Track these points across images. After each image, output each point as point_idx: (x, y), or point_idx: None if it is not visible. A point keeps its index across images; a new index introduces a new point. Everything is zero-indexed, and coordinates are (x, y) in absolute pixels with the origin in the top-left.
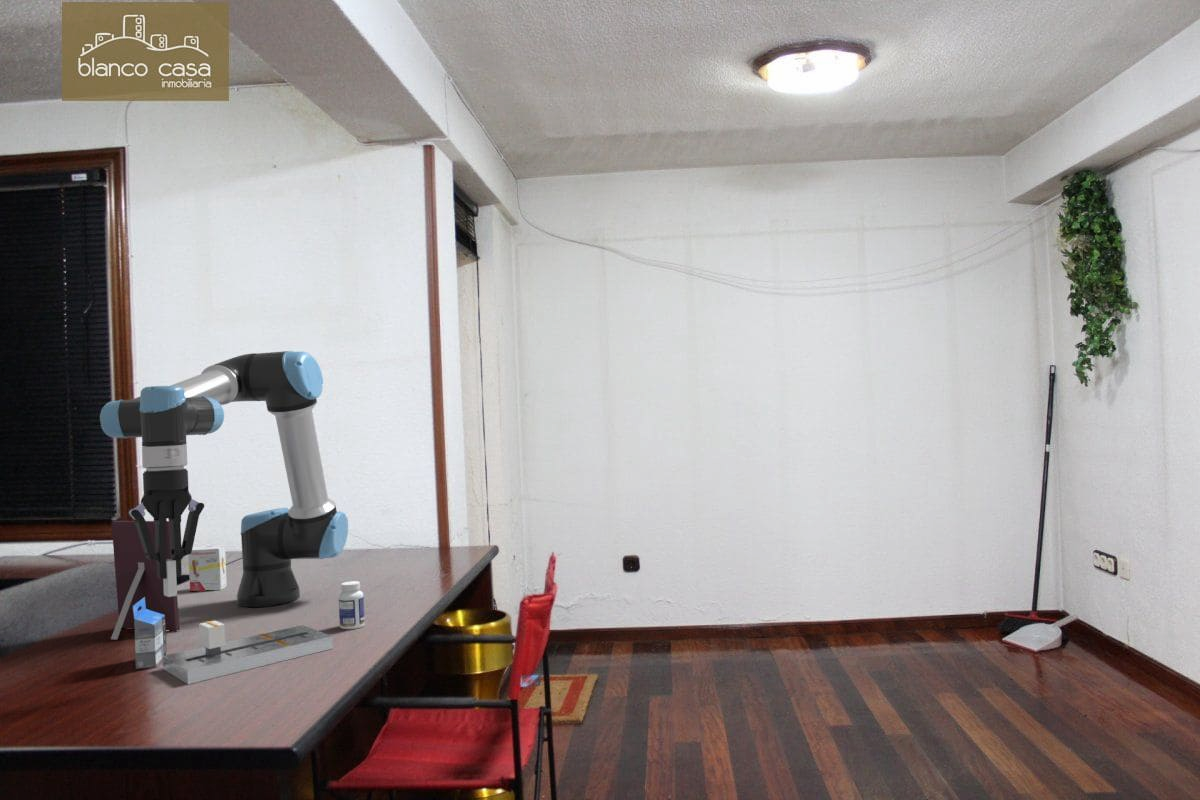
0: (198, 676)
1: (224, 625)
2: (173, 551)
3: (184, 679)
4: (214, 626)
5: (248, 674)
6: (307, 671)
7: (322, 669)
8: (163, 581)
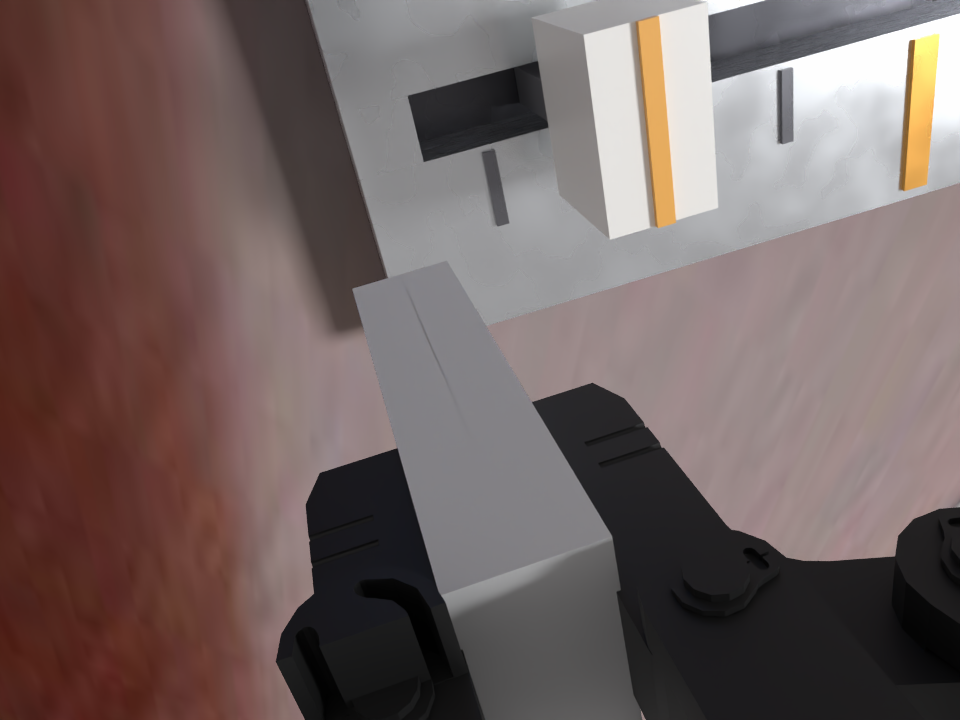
0: None
1: (713, 207)
2: (742, 708)
3: None
4: (651, 221)
5: (652, 314)
6: (831, 404)
7: (878, 408)
8: (376, 369)
